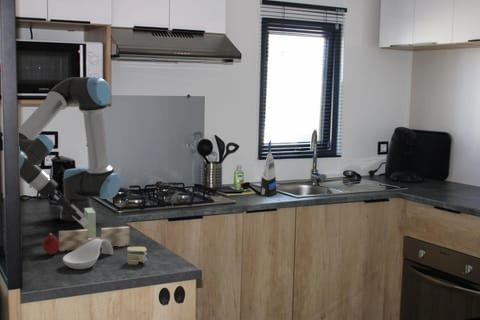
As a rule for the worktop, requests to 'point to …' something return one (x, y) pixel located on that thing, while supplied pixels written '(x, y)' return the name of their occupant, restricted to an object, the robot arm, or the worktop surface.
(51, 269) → the worktop surface
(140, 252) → the pale yellow layered block
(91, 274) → the worktop surface
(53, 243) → the onion
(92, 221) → the notched piece
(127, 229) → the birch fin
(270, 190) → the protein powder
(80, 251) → the spoon rest
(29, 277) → the worktop surface
